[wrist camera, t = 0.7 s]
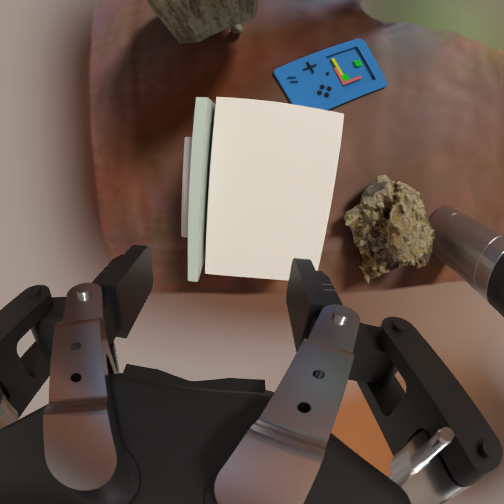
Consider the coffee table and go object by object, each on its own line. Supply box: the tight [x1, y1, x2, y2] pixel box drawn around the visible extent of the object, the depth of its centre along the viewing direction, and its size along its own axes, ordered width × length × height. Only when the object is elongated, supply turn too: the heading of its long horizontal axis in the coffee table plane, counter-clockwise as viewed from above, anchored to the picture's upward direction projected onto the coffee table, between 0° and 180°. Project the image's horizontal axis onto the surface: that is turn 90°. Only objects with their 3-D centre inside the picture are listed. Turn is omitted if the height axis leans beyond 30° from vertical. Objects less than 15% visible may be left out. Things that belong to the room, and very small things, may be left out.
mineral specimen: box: [343, 175, 435, 284], centre depth 35 cm, size 14×13×10 cm
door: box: [181, 97, 216, 282], centre depth 30 cm, size 2×17×14 cm, turn 174°
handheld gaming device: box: [274, 39, 387, 110], centre depth 31 cm, size 8×1×15 cm
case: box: [205, 97, 344, 280], centre depth 32 cm, size 12×18×12 cm, turn 174°
